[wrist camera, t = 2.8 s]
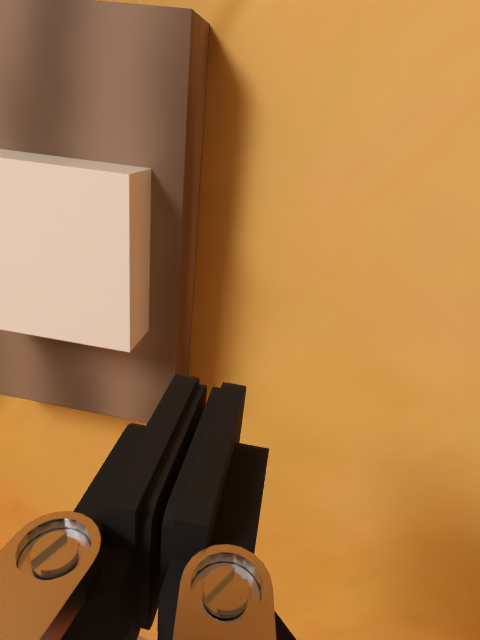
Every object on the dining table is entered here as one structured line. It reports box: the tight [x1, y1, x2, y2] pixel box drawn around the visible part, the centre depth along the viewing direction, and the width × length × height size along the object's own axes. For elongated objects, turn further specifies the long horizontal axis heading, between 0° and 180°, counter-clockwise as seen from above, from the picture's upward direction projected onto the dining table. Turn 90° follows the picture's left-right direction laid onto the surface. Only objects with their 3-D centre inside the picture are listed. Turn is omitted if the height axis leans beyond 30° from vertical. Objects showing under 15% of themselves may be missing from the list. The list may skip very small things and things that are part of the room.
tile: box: [0, 149, 151, 352], centre depth 21 cm, size 8×8×2 cm
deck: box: [0, 0, 210, 423], centre depth 23 cm, size 12×20×3 cm, turn 174°
